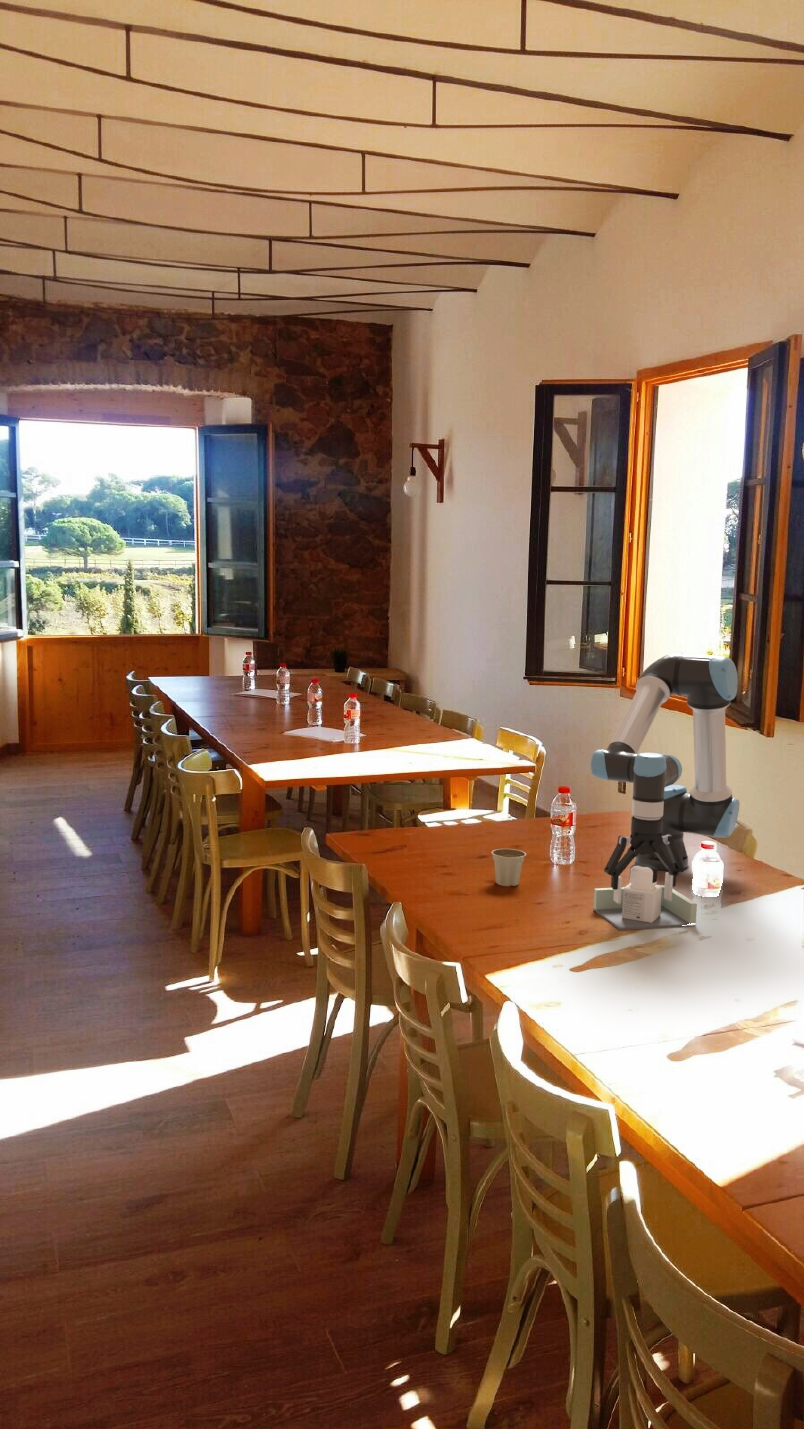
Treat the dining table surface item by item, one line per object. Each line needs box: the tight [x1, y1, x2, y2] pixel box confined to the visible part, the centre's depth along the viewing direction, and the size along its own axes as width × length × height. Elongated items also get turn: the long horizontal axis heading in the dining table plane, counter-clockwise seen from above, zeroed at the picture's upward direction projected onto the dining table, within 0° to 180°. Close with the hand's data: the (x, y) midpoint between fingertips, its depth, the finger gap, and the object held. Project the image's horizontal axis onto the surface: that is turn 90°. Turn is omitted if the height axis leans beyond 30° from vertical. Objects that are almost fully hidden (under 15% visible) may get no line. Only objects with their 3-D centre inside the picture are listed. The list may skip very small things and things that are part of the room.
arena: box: [592, 884, 698, 931], centre depth 284 cm, size 20×16×6 cm
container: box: [622, 863, 662, 923], centre depth 282 cm, size 8×8×13 cm
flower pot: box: [490, 848, 527, 887], centre depth 311 cm, size 9×9×9 cm
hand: (642, 900), depth 282 cm, fingers open, 13 cm apart
